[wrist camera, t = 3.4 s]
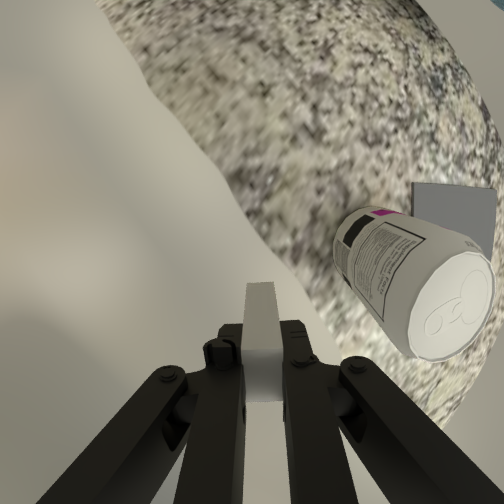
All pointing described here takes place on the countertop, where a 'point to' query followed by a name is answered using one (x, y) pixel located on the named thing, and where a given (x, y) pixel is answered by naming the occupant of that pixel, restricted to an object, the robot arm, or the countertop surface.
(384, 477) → the robot arm
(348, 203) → the countertop surface
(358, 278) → the supplement can
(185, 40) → the countertop surface
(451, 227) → the mat
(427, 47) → the countertop surface
